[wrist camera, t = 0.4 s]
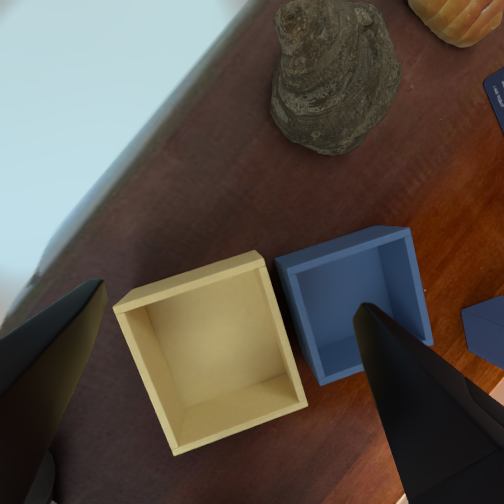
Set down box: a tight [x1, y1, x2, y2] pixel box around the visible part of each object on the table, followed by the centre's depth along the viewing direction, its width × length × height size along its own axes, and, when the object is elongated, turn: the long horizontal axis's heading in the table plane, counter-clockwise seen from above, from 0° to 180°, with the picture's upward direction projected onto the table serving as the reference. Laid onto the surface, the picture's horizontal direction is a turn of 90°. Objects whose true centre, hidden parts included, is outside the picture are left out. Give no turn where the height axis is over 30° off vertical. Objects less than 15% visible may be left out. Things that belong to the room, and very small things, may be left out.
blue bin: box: [274, 225, 434, 386], centre depth 23 cm, size 10×10×4 cm
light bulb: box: [24, 450, 57, 504], centre depth 21 cm, size 6×6×10 cm
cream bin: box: [113, 250, 308, 456], centre depth 22 cm, size 12×11×4 cm
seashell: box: [269, 0, 402, 156], centre depth 18 cm, size 11×12×10 cm
